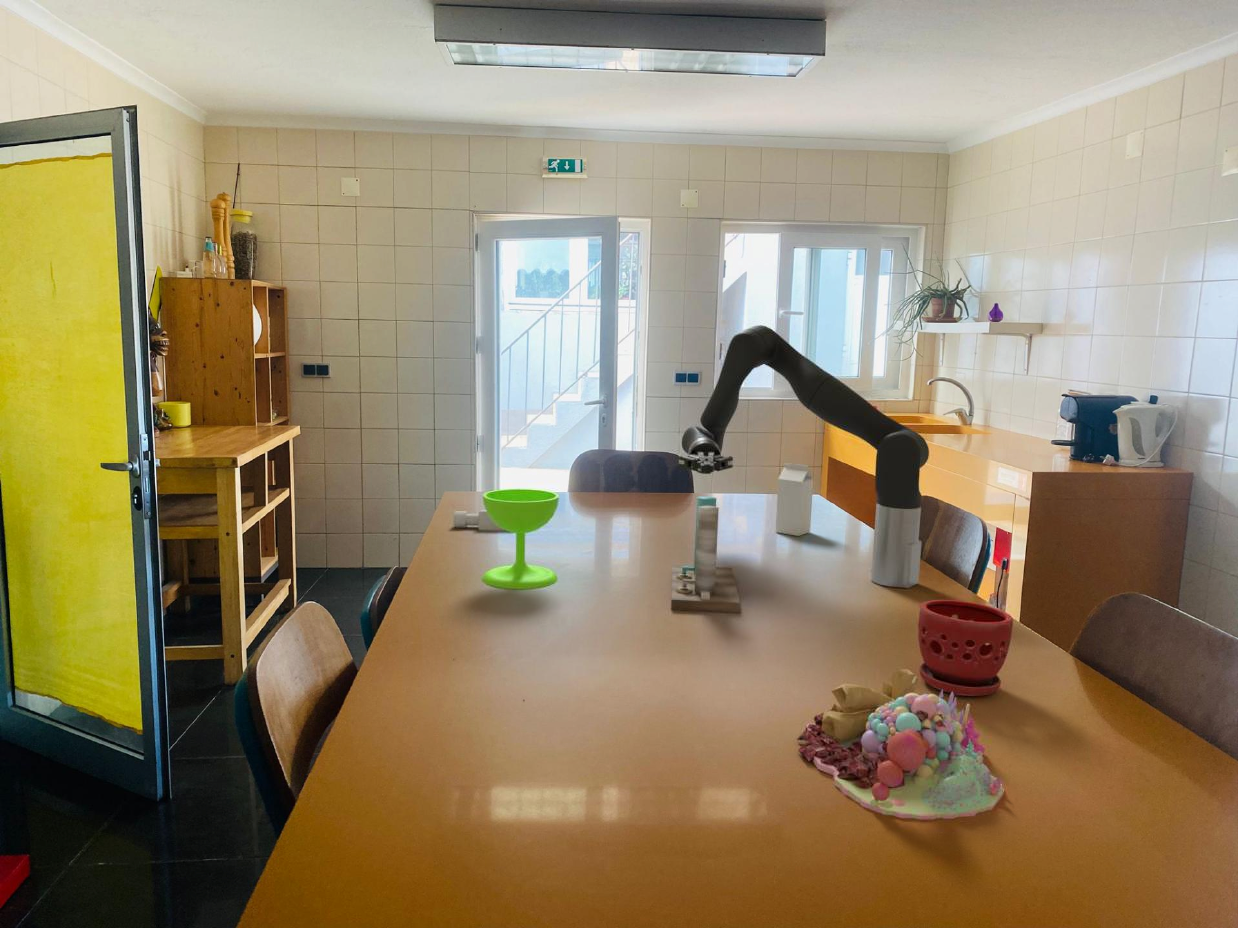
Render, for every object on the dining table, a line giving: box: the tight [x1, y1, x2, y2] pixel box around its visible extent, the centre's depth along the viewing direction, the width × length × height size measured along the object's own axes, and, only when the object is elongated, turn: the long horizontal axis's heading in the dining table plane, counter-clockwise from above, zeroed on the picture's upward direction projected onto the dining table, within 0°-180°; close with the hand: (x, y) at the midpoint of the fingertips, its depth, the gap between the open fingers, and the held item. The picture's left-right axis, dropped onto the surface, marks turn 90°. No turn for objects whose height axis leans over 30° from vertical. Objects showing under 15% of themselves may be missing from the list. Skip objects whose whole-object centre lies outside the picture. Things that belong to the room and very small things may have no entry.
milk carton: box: [775, 462, 814, 537], centre depth 235 cm, size 7×7×19 cm
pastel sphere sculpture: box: [796, 668, 1005, 820], centre depth 105 cm, size 25×24×9 cm
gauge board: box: [670, 506, 741, 614], centre depth 176 cm, size 26×13×19 cm, turn 176°
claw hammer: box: [453, 509, 505, 531], centre depth 244 cm, size 6×22×30 cm
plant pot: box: [917, 599, 1014, 697], centre depth 131 cm, size 13×13×12 cm
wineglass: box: [481, 488, 560, 590], centre depth 182 cm, size 16×16×18 cm
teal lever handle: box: [682, 495, 717, 575], centre depth 179 cm, size 4×6×16 cm, turn 86°
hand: (707, 469), depth 189 cm, fingers closed
